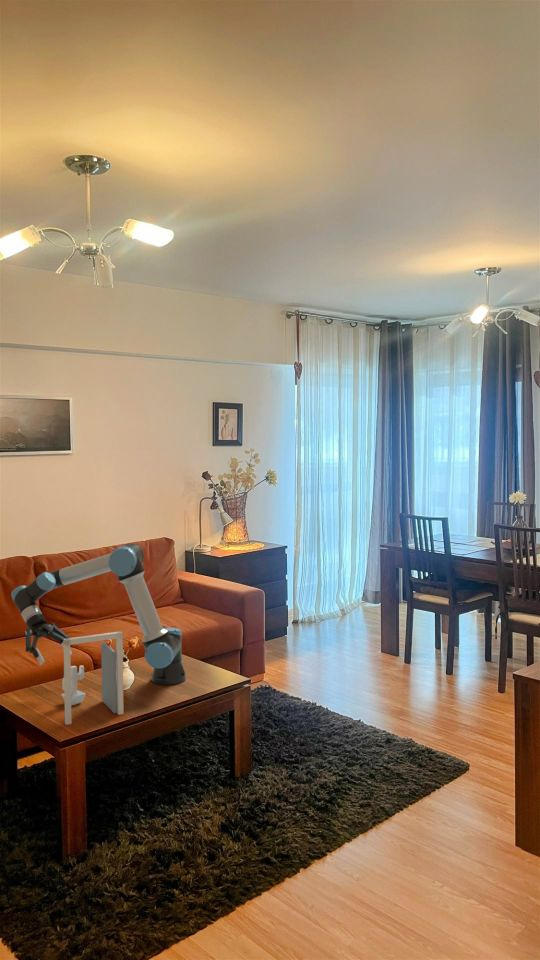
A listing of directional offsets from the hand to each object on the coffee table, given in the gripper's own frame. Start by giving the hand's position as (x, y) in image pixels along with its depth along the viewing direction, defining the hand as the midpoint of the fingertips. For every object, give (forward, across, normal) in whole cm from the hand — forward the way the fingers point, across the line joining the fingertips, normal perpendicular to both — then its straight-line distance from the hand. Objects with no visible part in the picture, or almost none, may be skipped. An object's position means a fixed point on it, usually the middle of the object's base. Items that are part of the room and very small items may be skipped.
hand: (56, 659), depth 287 cm
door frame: (+33, +6, +10) cm, 35 cm away
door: (+30, -5, +8) cm, 32 cm away
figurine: (+19, 0, -4) cm, 20 cm away
